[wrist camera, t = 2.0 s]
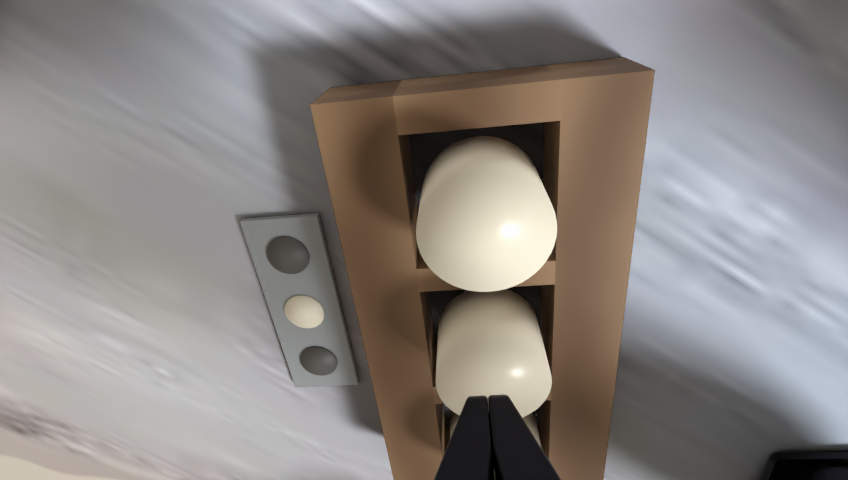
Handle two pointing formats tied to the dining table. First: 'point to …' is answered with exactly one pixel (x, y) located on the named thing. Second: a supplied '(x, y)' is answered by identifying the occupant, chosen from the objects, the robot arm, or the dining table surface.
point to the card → (302, 297)
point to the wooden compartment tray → (560, 293)
